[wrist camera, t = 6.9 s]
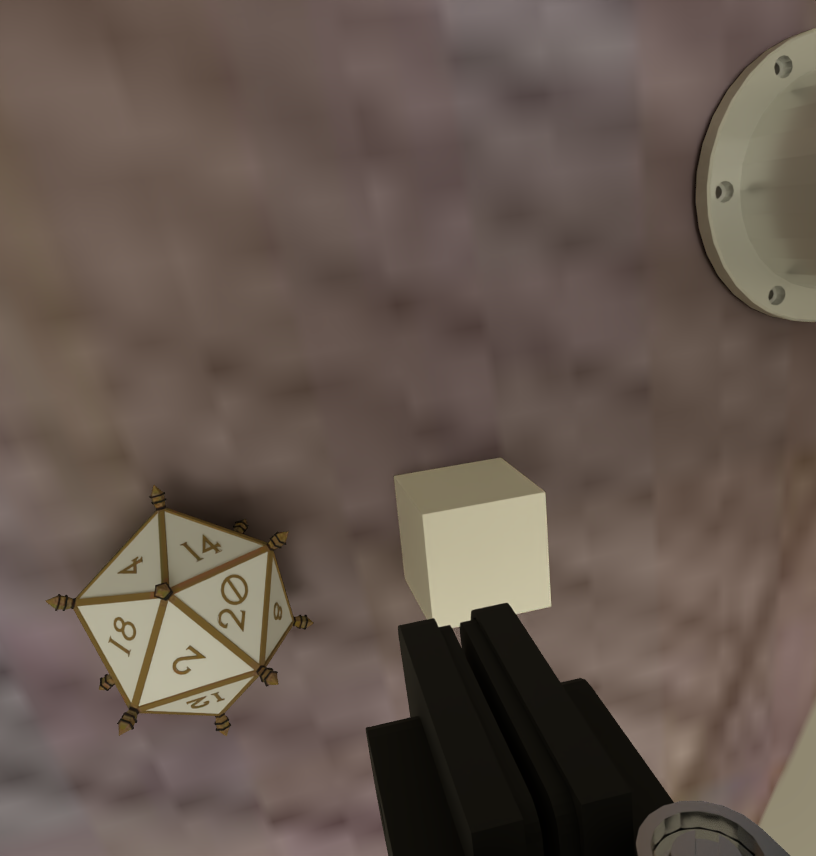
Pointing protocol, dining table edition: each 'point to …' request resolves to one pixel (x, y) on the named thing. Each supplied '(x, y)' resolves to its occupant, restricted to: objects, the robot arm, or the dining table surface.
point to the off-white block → (473, 539)
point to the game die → (186, 615)
